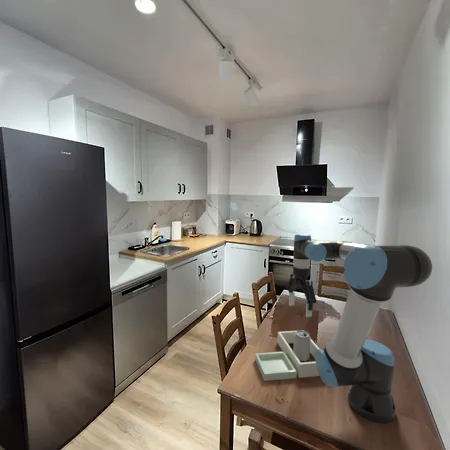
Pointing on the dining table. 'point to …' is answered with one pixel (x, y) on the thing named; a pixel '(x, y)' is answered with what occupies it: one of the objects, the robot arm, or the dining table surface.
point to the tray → (275, 366)
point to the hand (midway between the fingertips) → (299, 310)
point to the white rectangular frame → (302, 368)
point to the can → (302, 345)
